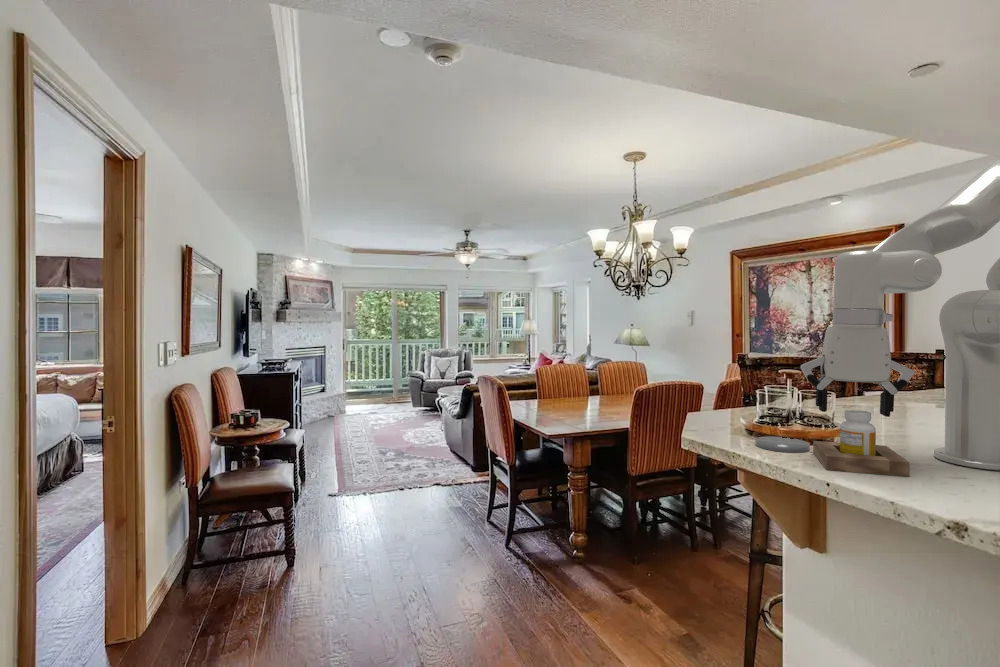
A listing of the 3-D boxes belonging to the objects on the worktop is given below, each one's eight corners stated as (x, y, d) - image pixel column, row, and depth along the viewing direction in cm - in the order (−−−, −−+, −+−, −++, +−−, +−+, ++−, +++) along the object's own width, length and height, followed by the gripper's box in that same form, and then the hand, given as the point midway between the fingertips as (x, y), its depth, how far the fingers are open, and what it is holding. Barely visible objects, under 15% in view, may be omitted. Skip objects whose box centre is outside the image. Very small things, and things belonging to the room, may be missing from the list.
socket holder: (885, 458, 98) (886, 445, 98) (909, 476, 87) (909, 462, 87) (813, 453, 102) (813, 440, 102) (826, 470, 91) (826, 455, 91)
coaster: (804, 443, 111) (804, 438, 111) (814, 454, 101) (814, 449, 101) (753, 439, 114) (753, 435, 114) (757, 450, 105) (757, 445, 105)
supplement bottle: (864, 460, 97) (864, 409, 97) (882, 468, 92) (882, 414, 91) (833, 460, 98) (834, 409, 97) (850, 468, 92) (850, 414, 92)
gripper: (907, 321, 94) (903, 414, 95) (799, 318, 101) (795, 406, 101) (923, 320, 87) (919, 421, 88) (806, 318, 94) (802, 412, 94)
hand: (853, 413), depth 94 cm, fingers open, 9 cm apart
